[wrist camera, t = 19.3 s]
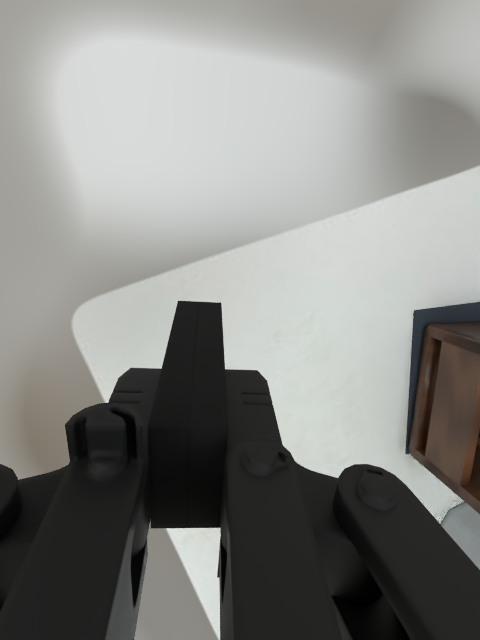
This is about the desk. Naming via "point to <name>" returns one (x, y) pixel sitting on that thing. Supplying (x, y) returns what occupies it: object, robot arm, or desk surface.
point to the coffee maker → (464, 530)
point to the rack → (450, 408)
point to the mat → (421, 321)
